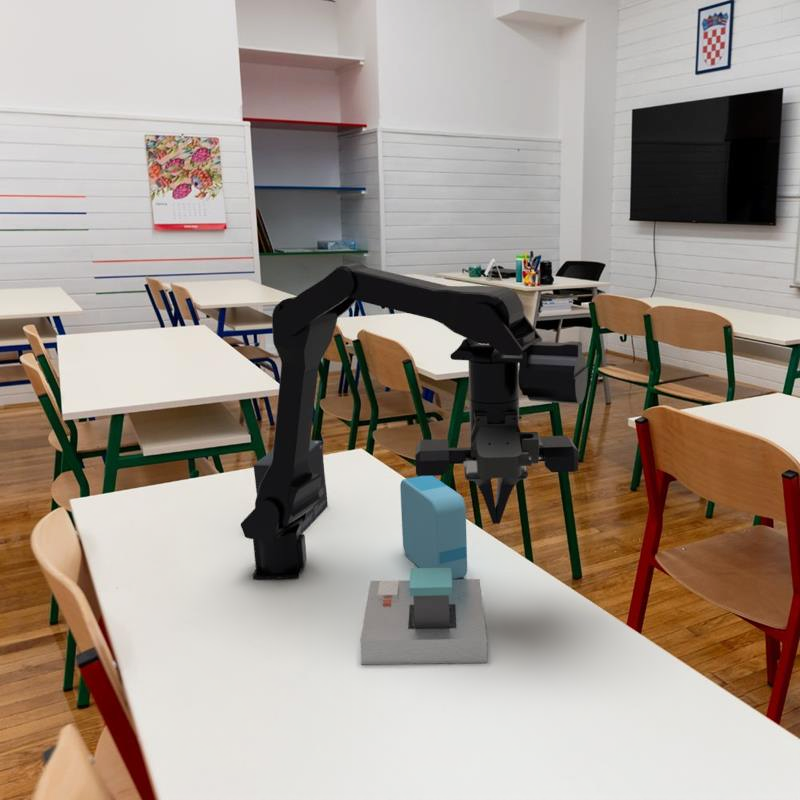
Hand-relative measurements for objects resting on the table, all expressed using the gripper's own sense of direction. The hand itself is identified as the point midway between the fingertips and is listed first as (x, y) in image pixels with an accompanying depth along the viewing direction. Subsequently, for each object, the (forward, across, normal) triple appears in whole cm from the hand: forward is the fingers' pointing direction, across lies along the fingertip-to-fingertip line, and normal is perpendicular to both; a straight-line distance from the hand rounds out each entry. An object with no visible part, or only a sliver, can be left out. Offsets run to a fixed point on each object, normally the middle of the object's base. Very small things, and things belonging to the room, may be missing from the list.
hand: (496, 522), depth 94 cm
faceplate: (+12, -9, -4) cm, 15 cm away
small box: (+12, -31, +31) cm, 46 cm away
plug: (+12, -8, -6) cm, 16 cm away
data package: (+12, -8, +13) cm, 20 cm away
